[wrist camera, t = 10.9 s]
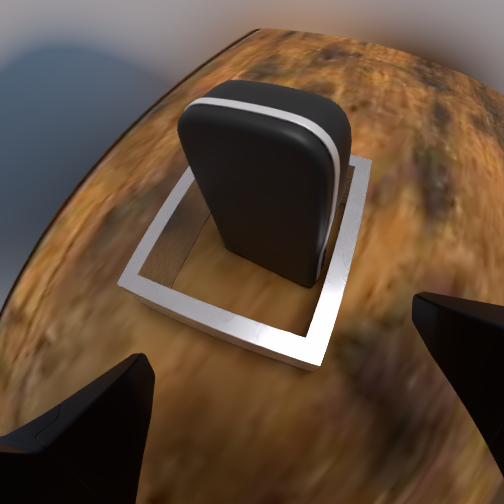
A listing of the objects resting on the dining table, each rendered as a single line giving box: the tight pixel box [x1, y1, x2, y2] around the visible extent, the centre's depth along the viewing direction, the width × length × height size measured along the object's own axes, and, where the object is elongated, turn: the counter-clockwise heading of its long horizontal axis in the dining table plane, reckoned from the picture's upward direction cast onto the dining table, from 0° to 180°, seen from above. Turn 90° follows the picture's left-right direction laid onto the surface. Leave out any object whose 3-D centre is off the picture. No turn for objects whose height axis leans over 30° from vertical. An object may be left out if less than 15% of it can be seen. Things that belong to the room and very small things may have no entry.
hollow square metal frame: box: [117, 155, 372, 372], centre depth 17 cm, size 12×13×4 cm
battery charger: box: [177, 80, 352, 287], centre depth 14 cm, size 7×4×11 cm, turn 59°
